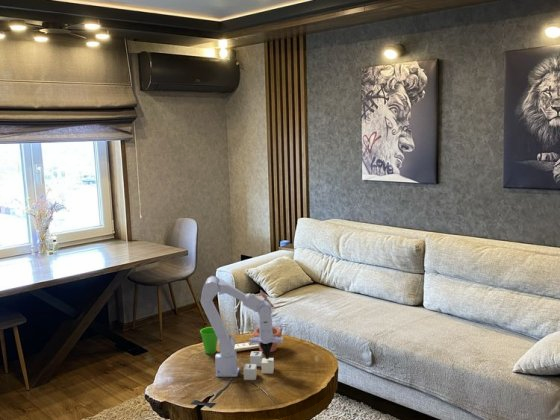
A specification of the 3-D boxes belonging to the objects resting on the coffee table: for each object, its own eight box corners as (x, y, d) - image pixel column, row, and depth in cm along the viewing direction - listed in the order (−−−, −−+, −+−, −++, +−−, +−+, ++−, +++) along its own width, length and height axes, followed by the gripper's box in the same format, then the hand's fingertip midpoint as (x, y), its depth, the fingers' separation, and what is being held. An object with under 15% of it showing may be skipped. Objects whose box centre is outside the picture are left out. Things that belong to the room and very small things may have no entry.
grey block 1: (244, 380, 245) (243, 369, 244) (245, 374, 250) (245, 363, 249) (255, 380, 245) (254, 368, 244) (257, 374, 249) (256, 363, 249)
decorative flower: (286, 353, 269) (284, 293, 264) (258, 358, 265) (255, 297, 260) (278, 341, 283) (275, 284, 278) (251, 345, 280) (248, 287, 274)
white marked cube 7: (250, 366, 258) (249, 355, 257) (251, 361, 263) (251, 351, 262) (261, 366, 257) (260, 355, 256) (262, 361, 262) (262, 351, 261)
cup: (199, 349, 278) (198, 328, 276) (218, 346, 280) (216, 325, 278) (203, 357, 269) (201, 335, 267) (221, 354, 272) (220, 332, 270)
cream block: (261, 373, 250) (261, 362, 249) (263, 368, 255) (262, 358, 254) (273, 373, 250) (272, 362, 249) (274, 368, 255) (273, 357, 254)
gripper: (248, 332, 246) (250, 362, 248) (281, 332, 244) (283, 361, 247) (250, 326, 253) (252, 355, 255) (282, 326, 251) (284, 354, 254)
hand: (267, 358), depth 251 cm, fingers closed
